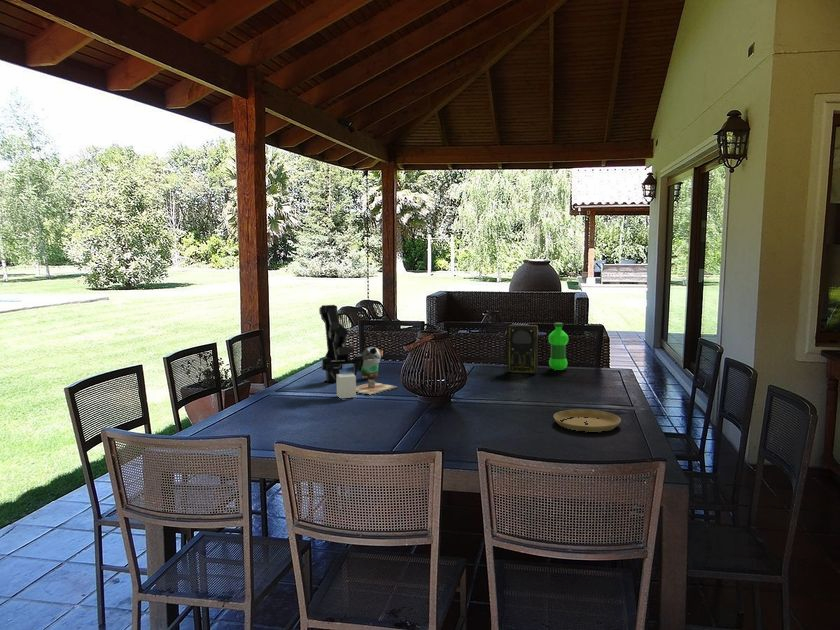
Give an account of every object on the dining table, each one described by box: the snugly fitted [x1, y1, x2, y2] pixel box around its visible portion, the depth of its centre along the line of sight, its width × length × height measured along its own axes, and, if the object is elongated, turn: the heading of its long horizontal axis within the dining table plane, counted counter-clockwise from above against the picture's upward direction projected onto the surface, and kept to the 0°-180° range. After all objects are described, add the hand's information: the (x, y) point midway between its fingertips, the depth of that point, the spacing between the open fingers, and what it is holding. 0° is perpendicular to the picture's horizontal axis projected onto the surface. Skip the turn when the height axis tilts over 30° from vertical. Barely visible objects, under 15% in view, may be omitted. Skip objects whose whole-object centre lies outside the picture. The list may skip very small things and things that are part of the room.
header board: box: [356, 379, 398, 396], centre depth 296 cm, size 16×18×4 cm
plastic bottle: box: [547, 322, 570, 371], centre depth 335 cm, size 10×10×25 cm
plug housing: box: [335, 372, 357, 399], centre depth 283 cm, size 7×7×10 cm
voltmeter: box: [507, 324, 539, 375], centre depth 330 cm, size 16×9×25 cm, turn 73°
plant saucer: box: [553, 409, 622, 433], centre depth 234 cm, size 24×24×3 cm
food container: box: [360, 357, 381, 380], centre depth 322 cm, size 12×6×10 cm, turn 143°
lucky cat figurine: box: [356, 346, 384, 361], centre depth 352 cm, size 15×12×14 cm
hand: (345, 378), depth 283 cm, fingers open, 9 cm apart
